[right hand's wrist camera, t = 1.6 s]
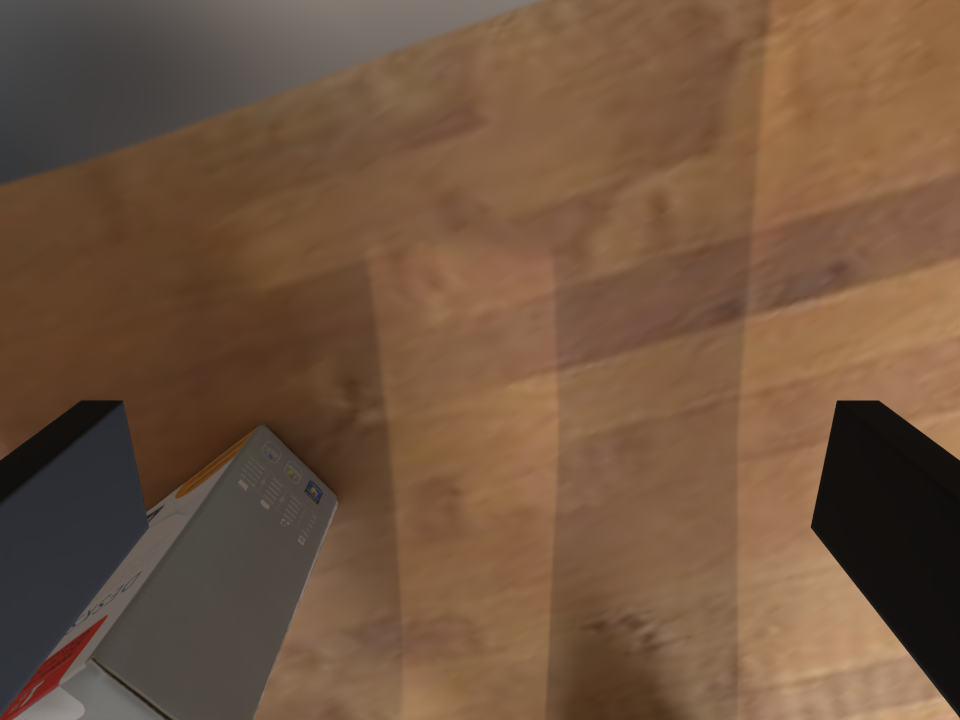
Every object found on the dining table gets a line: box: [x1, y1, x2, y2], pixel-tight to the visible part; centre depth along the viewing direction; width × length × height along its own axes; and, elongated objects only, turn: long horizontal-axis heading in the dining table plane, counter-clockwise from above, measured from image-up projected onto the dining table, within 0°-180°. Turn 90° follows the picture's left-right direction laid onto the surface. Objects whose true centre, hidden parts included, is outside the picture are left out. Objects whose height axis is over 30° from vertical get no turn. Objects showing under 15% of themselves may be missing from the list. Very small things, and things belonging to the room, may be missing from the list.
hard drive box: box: [0, 424, 338, 720], centre depth 36 cm, size 16×8×20 cm, turn 128°
